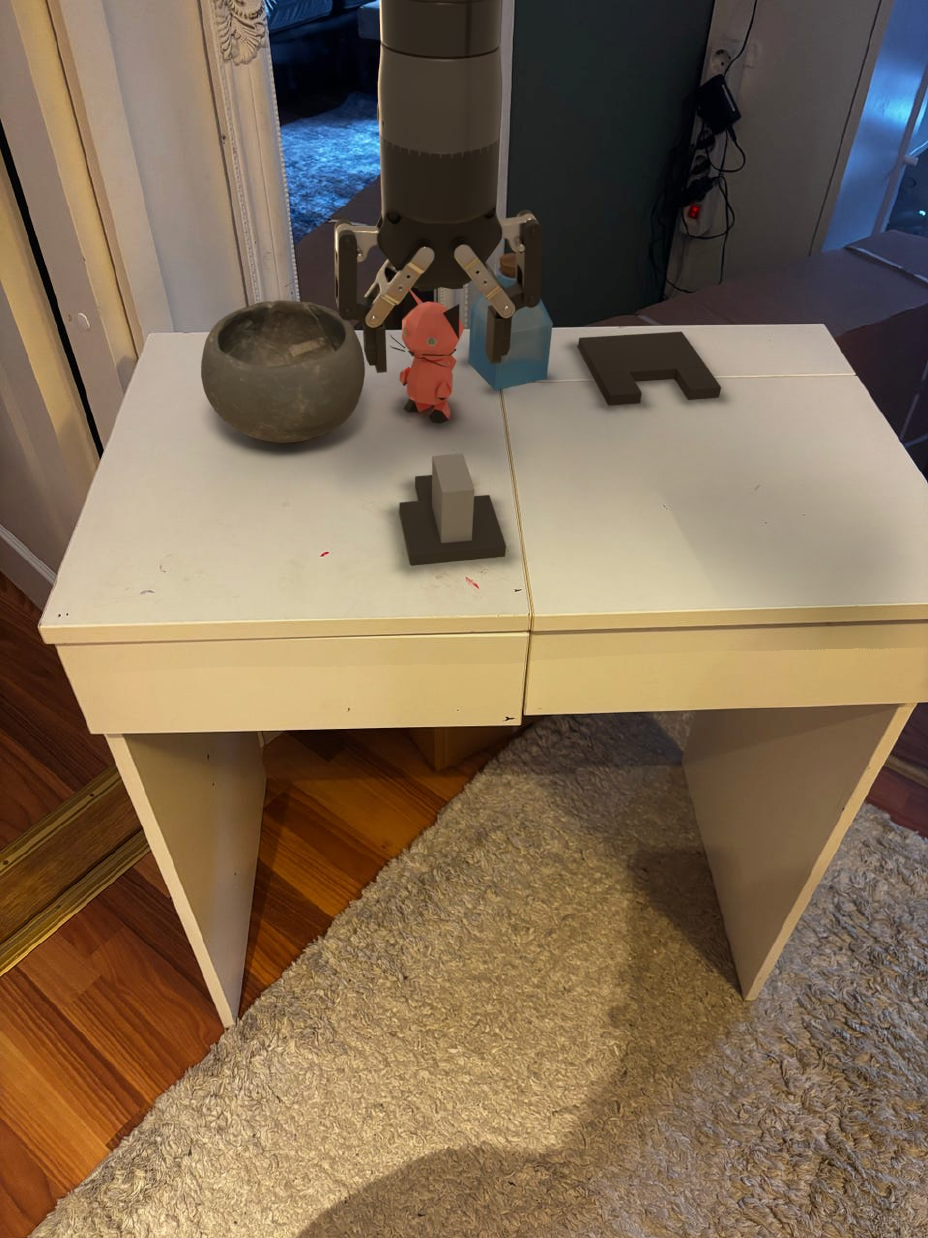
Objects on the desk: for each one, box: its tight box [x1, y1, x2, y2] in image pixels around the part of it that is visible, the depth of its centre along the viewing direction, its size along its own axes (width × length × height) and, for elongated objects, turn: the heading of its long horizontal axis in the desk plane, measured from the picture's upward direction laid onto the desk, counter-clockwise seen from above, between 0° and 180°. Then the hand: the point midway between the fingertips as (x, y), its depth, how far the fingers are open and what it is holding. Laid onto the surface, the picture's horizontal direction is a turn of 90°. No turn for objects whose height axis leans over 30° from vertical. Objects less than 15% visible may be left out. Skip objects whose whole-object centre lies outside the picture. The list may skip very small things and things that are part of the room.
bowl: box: [200, 299, 366, 444], centre depth 87 cm, size 15×15×10 cm
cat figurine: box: [388, 289, 465, 424], centre depth 89 cm, size 7×7×12 cm
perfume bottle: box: [468, 252, 554, 391], centre depth 95 cm, size 6×6×12 cm
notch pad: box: [577, 331, 722, 406], centre depth 100 cm, size 12×12×1 cm
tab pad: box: [398, 453, 507, 566], centre depth 79 cm, size 8×11×6 cm
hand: (437, 363), depth 69 cm, fingers open, 8 cm apart
